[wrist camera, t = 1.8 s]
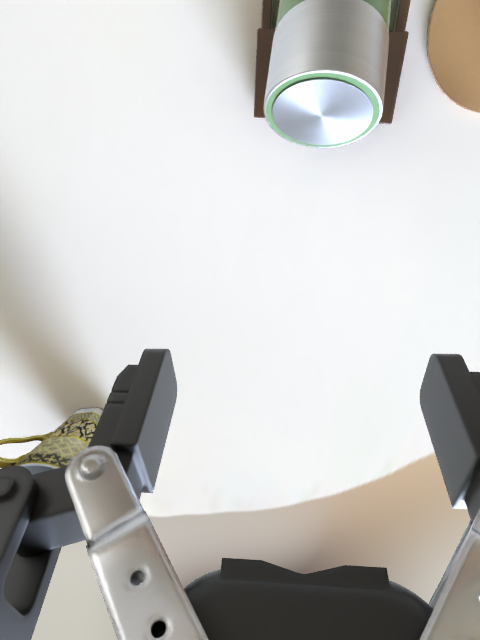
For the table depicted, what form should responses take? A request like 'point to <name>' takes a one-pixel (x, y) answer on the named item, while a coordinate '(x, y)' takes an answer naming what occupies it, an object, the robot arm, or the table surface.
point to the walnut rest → (393, 62)
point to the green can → (327, 70)
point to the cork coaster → (456, 50)
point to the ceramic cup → (57, 443)
